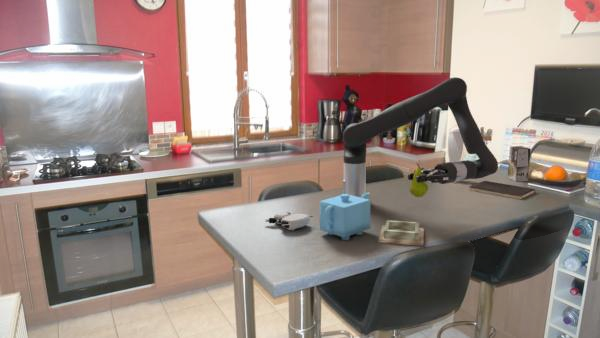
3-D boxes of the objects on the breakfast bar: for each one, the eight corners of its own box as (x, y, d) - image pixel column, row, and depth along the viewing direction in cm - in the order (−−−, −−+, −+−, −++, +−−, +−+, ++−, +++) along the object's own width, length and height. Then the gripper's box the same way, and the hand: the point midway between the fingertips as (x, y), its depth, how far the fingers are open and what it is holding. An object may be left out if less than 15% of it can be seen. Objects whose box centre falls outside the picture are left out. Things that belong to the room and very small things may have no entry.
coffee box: (528, 181, 220) (531, 148, 216) (515, 181, 220) (517, 149, 217) (519, 177, 229) (522, 145, 225) (507, 177, 229) (509, 146, 226)
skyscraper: (449, 178, 230) (452, 124, 224) (464, 181, 224) (468, 125, 218) (441, 181, 225) (443, 125, 219) (456, 184, 219) (459, 126, 213)
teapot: (338, 245, 144) (338, 203, 141) (314, 236, 152) (313, 197, 149) (381, 228, 158) (382, 190, 155) (357, 221, 166) (357, 185, 163)
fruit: (428, 199, 155) (428, 164, 152) (409, 198, 156) (410, 164, 153) (426, 194, 161) (427, 161, 158) (409, 194, 162) (409, 161, 160)
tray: (378, 242, 145) (378, 231, 145) (382, 227, 158) (382, 218, 158) (423, 245, 141) (423, 235, 141) (423, 230, 155) (424, 221, 154)
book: (519, 201, 189) (520, 195, 189) (468, 191, 206) (468, 186, 206) (535, 193, 200) (535, 188, 199) (484, 185, 217) (485, 180, 216)
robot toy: (263, 228, 164) (291, 235, 153) (262, 216, 163) (290, 222, 152) (287, 220, 172) (316, 226, 162) (286, 208, 172) (315, 213, 161)
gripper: (437, 159, 168) (400, 164, 161) (465, 165, 156) (427, 171, 148) (436, 178, 170) (399, 184, 162) (464, 186, 157) (426, 193, 150)
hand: (413, 178), depth 155 cm, fingers closed on fruit, 4 cm apart
